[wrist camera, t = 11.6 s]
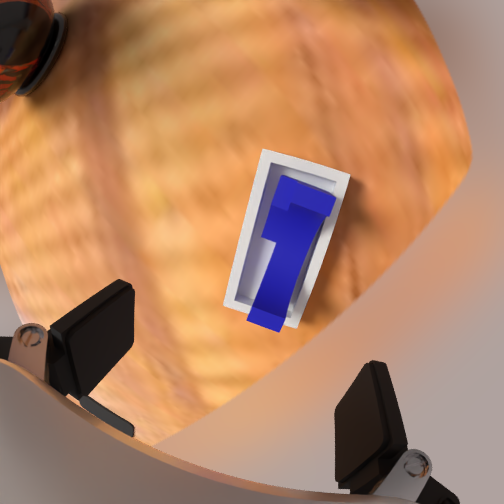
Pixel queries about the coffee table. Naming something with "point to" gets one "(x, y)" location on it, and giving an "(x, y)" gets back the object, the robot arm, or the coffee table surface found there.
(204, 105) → the coffee table surface
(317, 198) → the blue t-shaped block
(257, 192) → the tray
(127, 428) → the phone
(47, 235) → the coffee table surface
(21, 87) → the amphora vase
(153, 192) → the coffee table surface
